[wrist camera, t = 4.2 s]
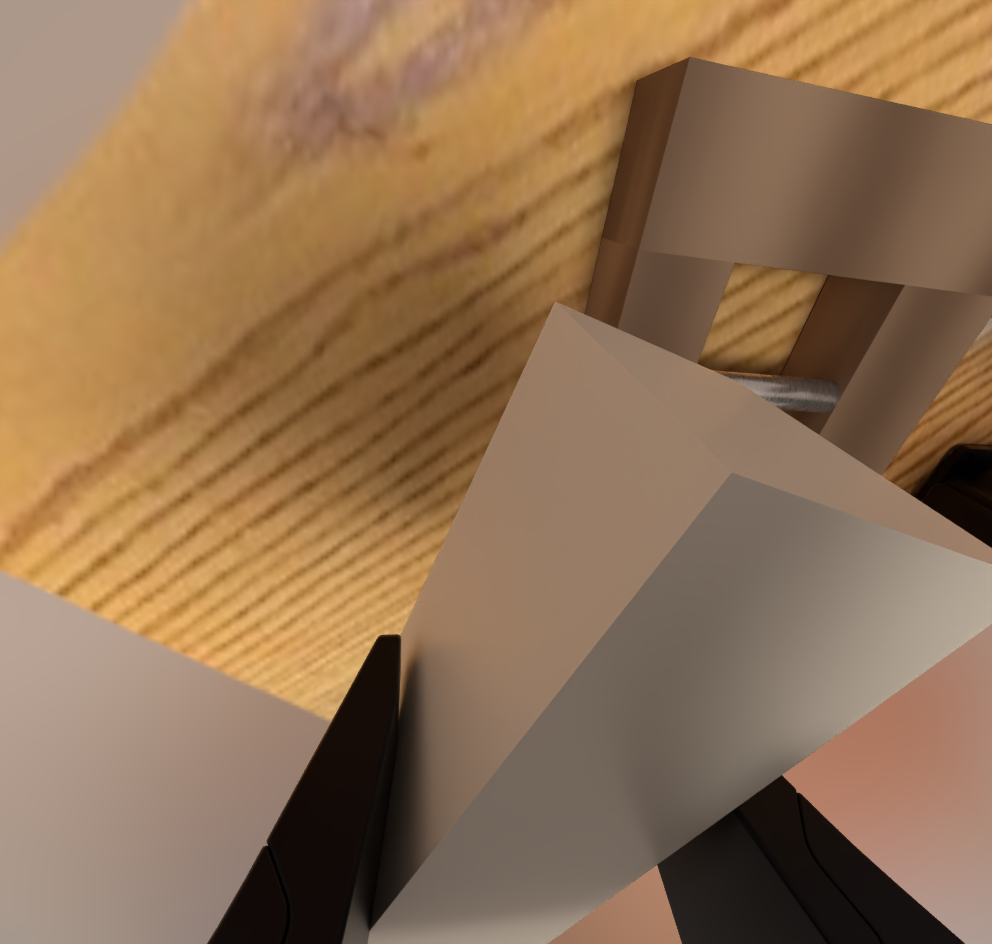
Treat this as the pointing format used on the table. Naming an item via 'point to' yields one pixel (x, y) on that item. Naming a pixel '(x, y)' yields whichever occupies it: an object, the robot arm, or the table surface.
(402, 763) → the cream block
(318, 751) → the robot arm
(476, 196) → the table surface
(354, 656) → the table surface
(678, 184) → the brown square frame
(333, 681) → the table surface
